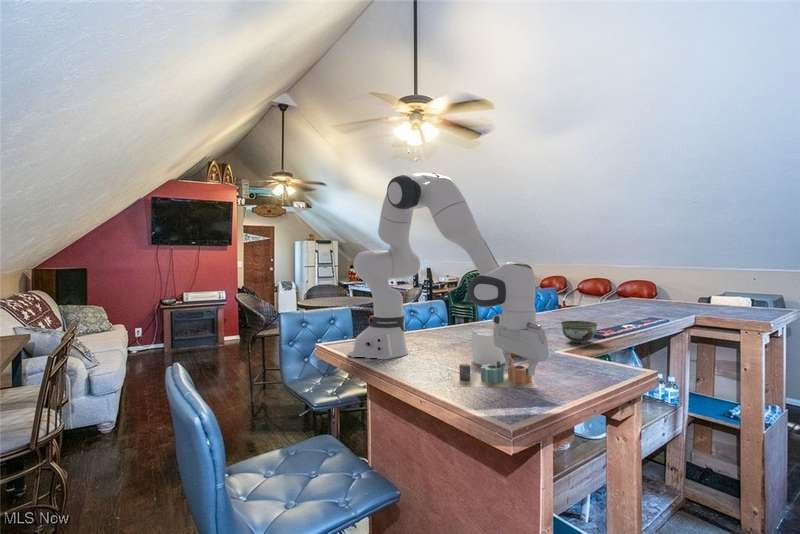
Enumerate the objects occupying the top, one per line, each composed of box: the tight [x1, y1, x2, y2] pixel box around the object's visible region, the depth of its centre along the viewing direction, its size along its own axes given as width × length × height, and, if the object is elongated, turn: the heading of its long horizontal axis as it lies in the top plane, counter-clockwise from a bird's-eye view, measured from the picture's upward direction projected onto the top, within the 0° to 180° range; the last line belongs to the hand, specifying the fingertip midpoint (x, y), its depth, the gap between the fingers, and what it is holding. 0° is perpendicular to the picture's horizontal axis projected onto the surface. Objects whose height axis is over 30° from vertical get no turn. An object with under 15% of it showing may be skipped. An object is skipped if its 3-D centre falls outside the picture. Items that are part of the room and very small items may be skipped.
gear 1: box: [480, 361, 505, 383], centre depth 108 cm, size 6×6×5 cm
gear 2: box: [507, 363, 533, 384], centre depth 107 cm, size 6×6×4 cm
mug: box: [471, 329, 505, 366], centre depth 129 cm, size 14×10×11 cm
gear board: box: [451, 363, 539, 389], centre depth 108 cm, size 22×12×5 cm, turn 83°
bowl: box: [560, 320, 598, 344], centre depth 158 cm, size 14×13×8 cm
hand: (519, 370), depth 107 cm, fingers open, 8 cm apart
